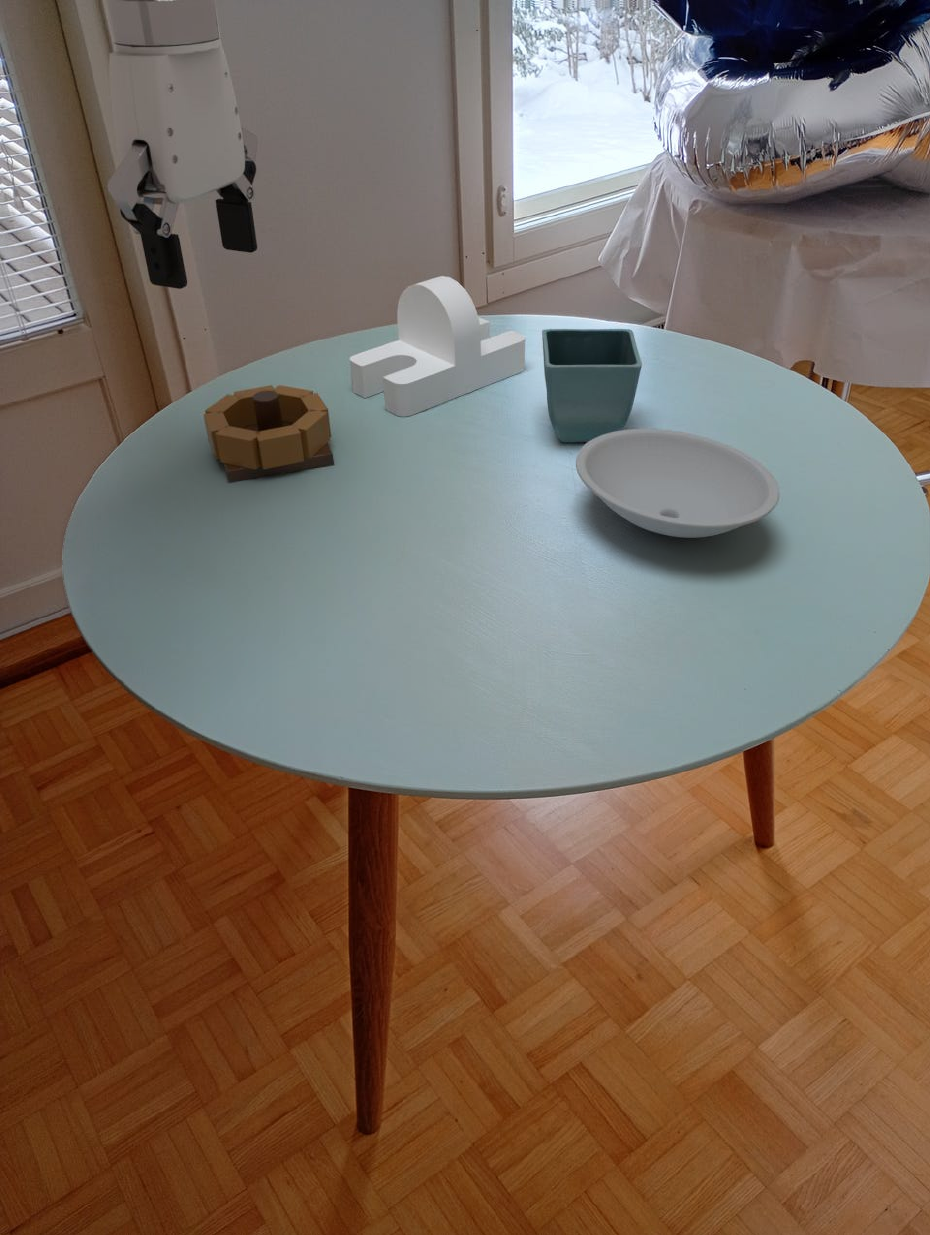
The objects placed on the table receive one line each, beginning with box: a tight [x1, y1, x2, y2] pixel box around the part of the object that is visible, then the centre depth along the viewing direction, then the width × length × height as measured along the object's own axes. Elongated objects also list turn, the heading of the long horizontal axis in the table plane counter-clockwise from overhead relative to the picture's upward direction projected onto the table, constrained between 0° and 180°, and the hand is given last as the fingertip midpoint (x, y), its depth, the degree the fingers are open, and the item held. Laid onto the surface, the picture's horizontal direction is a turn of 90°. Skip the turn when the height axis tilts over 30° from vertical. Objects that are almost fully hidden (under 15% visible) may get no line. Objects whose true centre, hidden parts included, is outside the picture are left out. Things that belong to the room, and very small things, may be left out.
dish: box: [575, 428, 780, 539], centre depth 83 cm, size 18×14×5 cm
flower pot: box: [541, 328, 643, 443], centre depth 95 cm, size 9×9×9 cm
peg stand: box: [223, 390, 335, 483], centre depth 94 cm, size 10×10×6 cm
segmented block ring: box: [203, 384, 332, 470], centre depth 94 cm, size 11×11×3 cm
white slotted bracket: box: [349, 275, 526, 418], centre depth 105 cm, size 10×18×11 cm, turn 131°
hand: (206, 267), depth 81 cm, fingers open, 9 cm apart
